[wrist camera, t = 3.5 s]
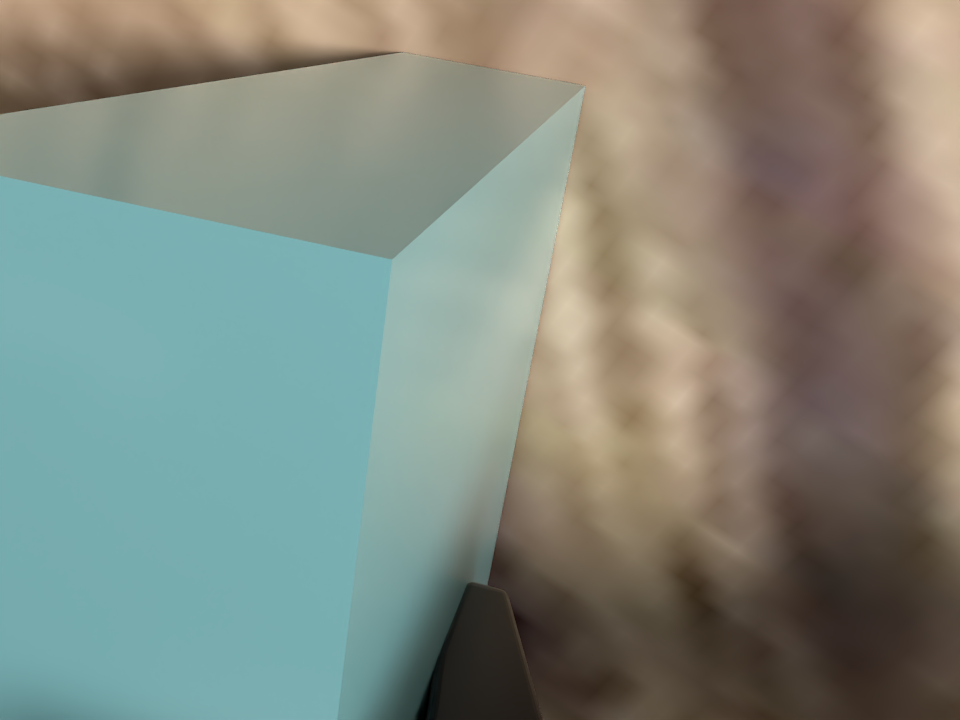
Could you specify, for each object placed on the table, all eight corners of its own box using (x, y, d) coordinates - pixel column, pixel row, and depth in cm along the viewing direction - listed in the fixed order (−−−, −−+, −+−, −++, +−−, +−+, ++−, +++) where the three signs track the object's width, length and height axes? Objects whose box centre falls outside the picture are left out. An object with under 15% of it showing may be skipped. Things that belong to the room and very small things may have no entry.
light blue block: (585, 85, 9) (393, 261, 3) (450, 769, 13) (244, 1490, 7) (402, 52, 9) (-169, 139, 3) (325, 732, 13) (12, 1393, 7)
